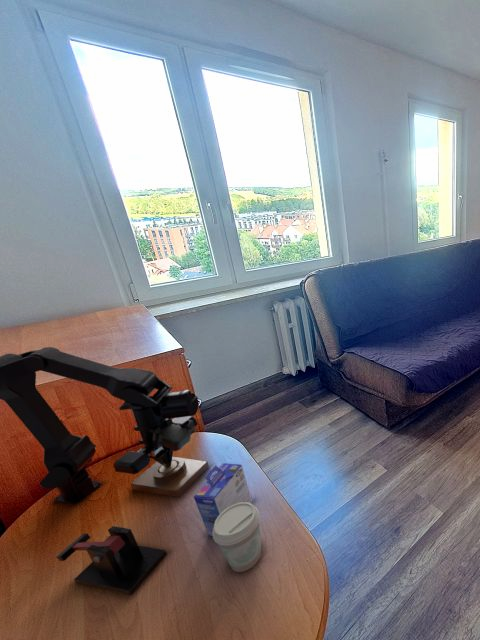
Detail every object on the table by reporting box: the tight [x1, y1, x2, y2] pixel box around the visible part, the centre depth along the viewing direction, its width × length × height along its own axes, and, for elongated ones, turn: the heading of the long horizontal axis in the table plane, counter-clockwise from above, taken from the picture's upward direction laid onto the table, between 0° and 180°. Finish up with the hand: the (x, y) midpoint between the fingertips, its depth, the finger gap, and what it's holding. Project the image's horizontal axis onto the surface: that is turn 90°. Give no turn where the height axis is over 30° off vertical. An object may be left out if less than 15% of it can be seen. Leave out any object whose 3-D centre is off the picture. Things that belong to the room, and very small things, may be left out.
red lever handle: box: [55, 532, 125, 562], centre depth 68 cm, size 13×5×2 cm, turn 81°
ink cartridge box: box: [193, 462, 253, 537], centre depth 77 cm, size 10×6×14 cm, turn 174°
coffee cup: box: [212, 502, 262, 573], centre depth 69 cm, size 8×8×12 cm
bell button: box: [159, 461, 178, 474], centre depth 90 cm, size 4×4×2 cm
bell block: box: [130, 456, 210, 498], centre depth 90 cm, size 14×10×4 cm
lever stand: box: [73, 525, 168, 596], centre depth 68 cm, size 13×8×9 cm, turn 81°
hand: (168, 466), depth 89 cm, fingers closed, pressing on bell button
